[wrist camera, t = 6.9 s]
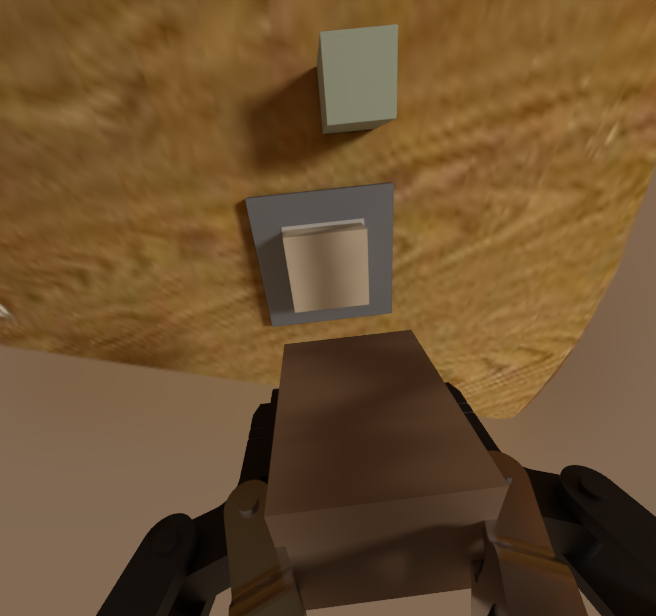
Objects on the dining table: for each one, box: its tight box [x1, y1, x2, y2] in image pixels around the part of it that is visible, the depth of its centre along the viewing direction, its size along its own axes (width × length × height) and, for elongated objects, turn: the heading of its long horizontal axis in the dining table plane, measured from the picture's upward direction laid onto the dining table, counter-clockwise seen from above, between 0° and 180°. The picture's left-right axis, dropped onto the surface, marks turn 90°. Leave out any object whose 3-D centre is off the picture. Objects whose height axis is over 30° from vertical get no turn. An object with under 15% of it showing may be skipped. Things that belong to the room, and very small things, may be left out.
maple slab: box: [283, 222, 369, 313], centre depth 26 cm, size 7×7×3 cm
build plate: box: [245, 182, 394, 327], centre depth 28 cm, size 13×13×1 cm
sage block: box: [317, 24, 398, 134], centre depth 20 cm, size 4×4×6 cm
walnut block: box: [264, 330, 509, 610], centre depth 9 cm, size 5×5×6 cm
